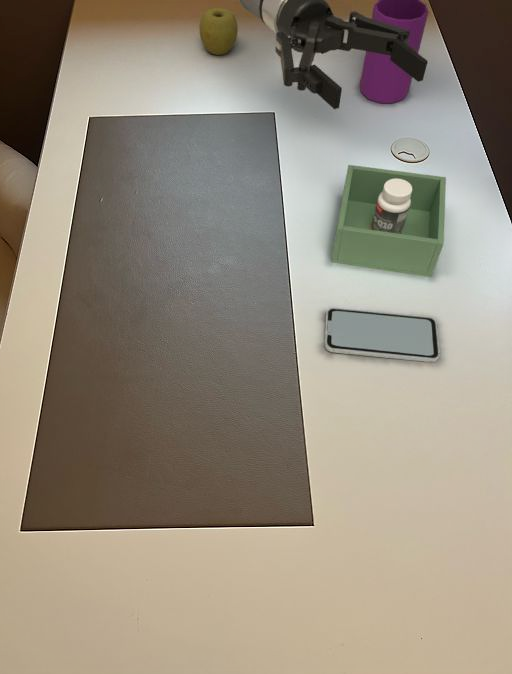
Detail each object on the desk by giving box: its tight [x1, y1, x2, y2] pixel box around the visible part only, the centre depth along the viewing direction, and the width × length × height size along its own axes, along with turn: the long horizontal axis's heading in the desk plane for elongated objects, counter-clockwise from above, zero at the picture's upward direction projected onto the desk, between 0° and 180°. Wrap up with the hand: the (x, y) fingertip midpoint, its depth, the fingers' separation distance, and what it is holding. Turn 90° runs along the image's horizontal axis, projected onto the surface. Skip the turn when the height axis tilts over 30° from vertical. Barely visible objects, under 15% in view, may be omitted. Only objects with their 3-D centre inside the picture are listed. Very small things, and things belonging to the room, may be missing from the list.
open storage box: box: [330, 164, 447, 278], centre depth 93 cm, size 15×15×7 cm
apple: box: [198, 7, 239, 56], centre depth 124 cm, size 8×8×7 cm
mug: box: [359, 0, 429, 104], centre depth 114 cm, size 9×16×15 cm, turn 164°
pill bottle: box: [370, 179, 412, 234], centre depth 92 cm, size 5×5×8 cm
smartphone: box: [324, 307, 441, 363], centre depth 84 cm, size 7×1×15 cm
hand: (381, 85), depth 82 cm, fingers open, 13 cm apart
